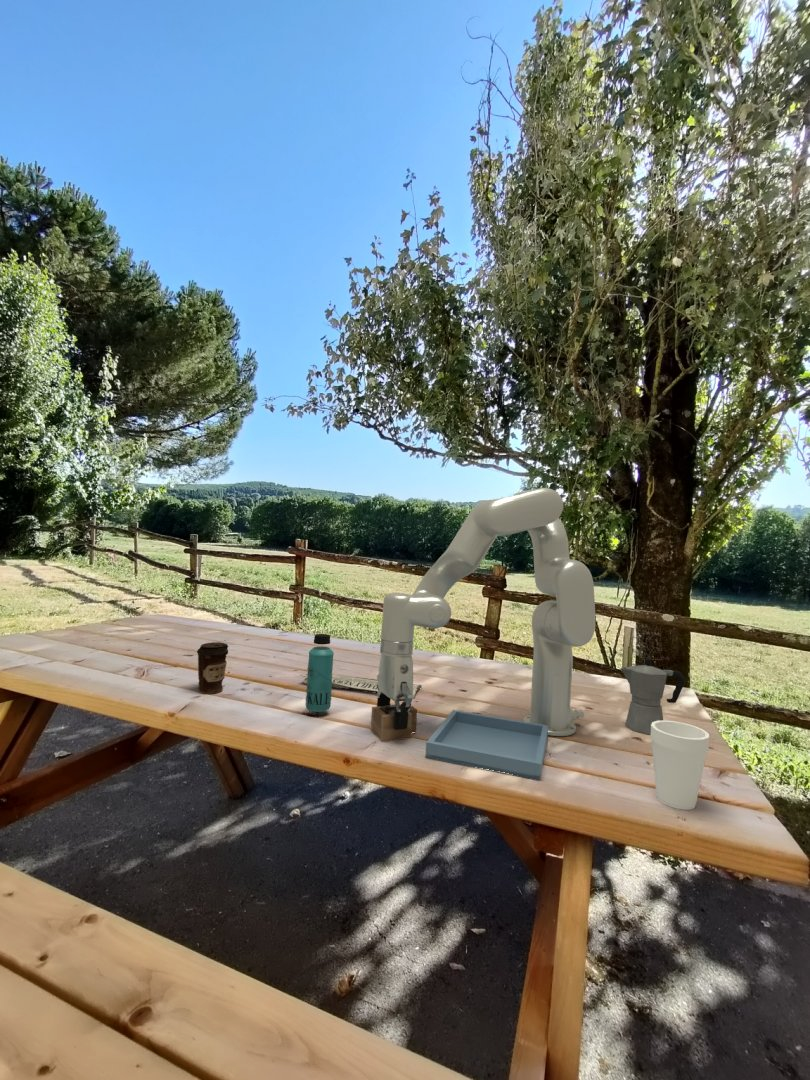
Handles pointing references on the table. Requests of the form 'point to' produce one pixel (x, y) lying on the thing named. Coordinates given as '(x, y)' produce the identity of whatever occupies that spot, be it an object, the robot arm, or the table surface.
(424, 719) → the table surface
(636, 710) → the coffeepot
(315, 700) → the beverage bottle
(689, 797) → the foam cup
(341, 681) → the newspaper
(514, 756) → the slate tray
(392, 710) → the t head stake
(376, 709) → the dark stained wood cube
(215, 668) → the coffee cup
